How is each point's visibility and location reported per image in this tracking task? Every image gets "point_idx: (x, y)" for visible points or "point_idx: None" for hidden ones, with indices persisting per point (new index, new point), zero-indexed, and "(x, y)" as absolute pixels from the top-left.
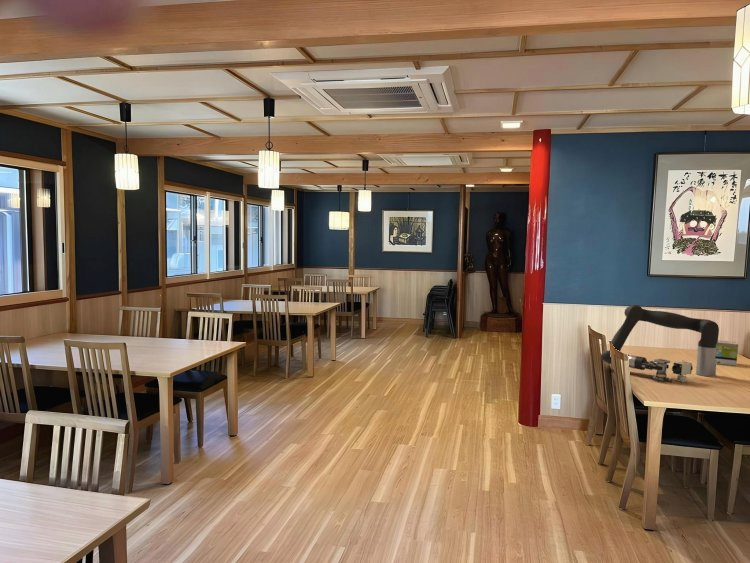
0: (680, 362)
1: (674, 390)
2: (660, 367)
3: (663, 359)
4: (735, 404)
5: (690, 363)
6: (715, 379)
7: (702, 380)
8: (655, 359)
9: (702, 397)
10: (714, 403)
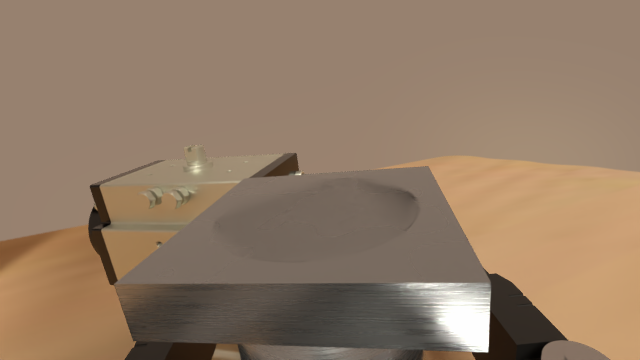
0: (187, 175)
1: (577, 257)
2: (496, 275)
3: (190, 229)
4: (450, 161)
5: (174, 160)
6: (6, 285)
7: (79, 301)
8: (406, 277)
9: (502, 191)
10: (523, 167)
